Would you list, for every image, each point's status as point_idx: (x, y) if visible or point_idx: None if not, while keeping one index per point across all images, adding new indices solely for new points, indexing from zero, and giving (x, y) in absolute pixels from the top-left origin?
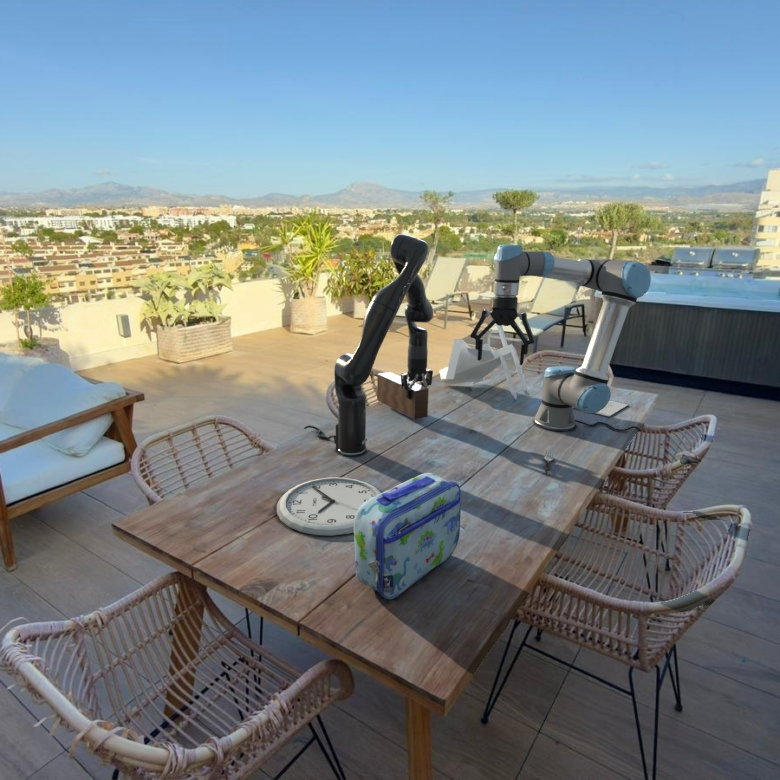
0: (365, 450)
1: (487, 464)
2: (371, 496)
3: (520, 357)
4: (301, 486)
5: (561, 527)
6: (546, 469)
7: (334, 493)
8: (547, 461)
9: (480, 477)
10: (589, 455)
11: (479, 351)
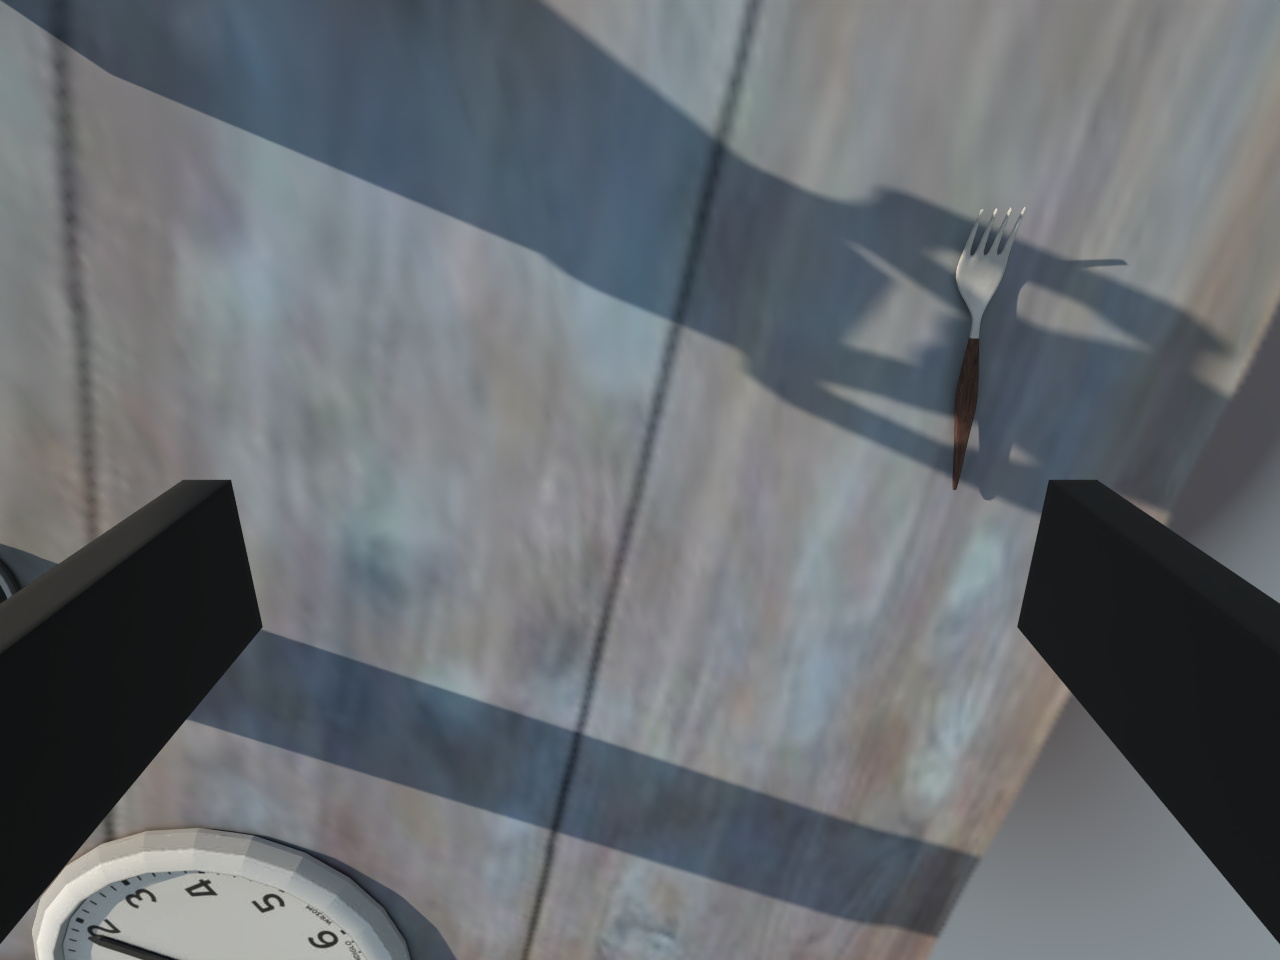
0: (9, 581)
1: (646, 470)
2: (316, 916)
3: (1098, 721)
4: (57, 950)
5: (984, 839)
6: (960, 446)
7: (190, 940)
8: (972, 332)
9: (645, 614)
10: (1260, 73)
11: (139, 753)
